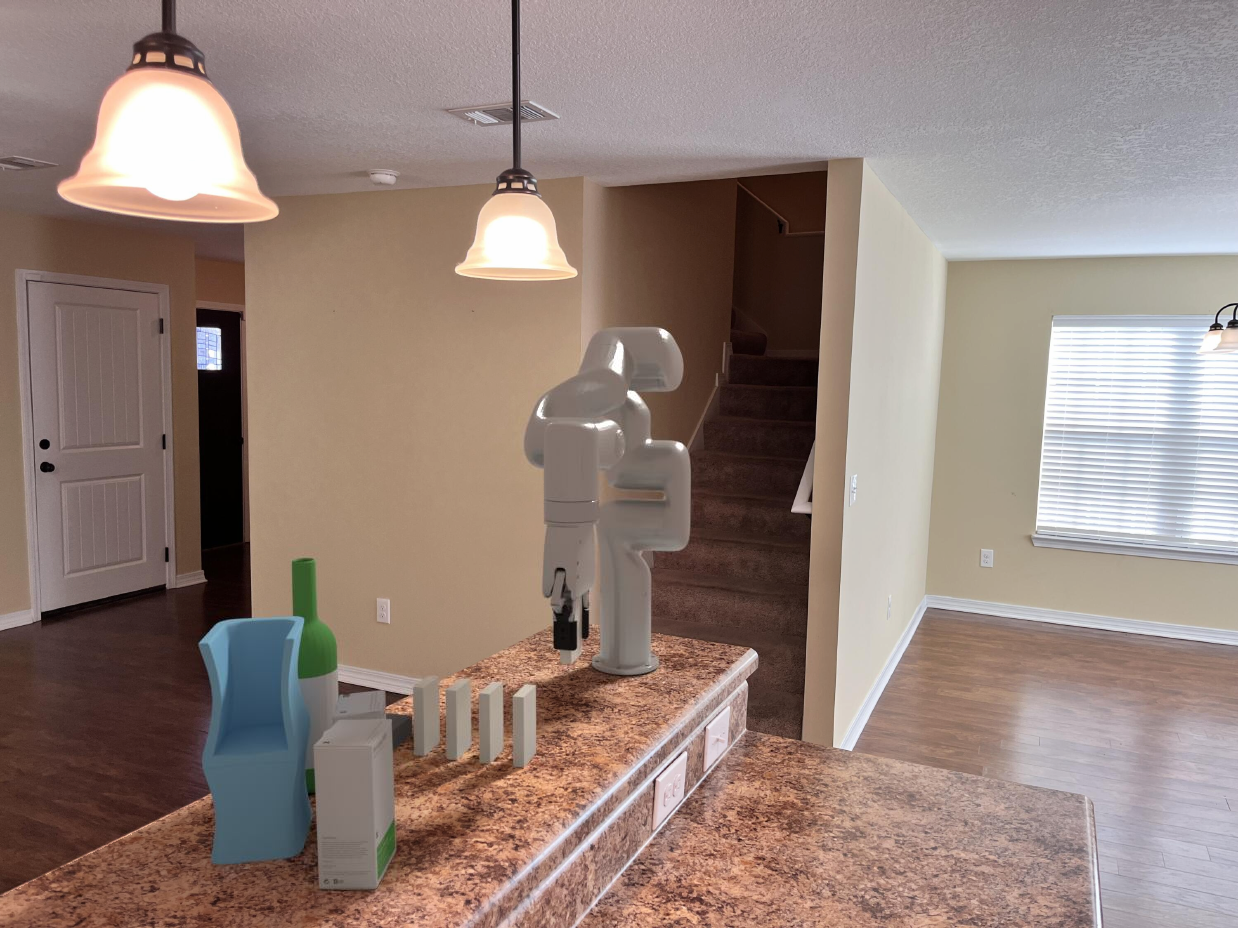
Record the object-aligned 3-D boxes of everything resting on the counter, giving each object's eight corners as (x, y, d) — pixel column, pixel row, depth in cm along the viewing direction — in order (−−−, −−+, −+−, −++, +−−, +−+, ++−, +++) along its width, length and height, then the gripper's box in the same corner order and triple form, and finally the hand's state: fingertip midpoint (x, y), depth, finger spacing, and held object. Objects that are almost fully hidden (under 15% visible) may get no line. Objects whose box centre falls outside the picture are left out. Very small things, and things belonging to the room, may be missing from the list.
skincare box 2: (376, 891, 91) (372, 747, 90) (313, 890, 91) (308, 746, 90) (398, 849, 100) (395, 716, 98) (340, 848, 100) (336, 715, 98)
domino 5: (560, 663, 118) (560, 590, 117) (571, 652, 123) (571, 582, 122) (571, 663, 118) (571, 591, 117) (581, 653, 123) (582, 582, 122)
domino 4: (513, 766, 121) (512, 696, 120) (525, 751, 126) (525, 684, 125) (524, 767, 121) (523, 697, 120) (536, 752, 126) (535, 685, 125)
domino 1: (414, 754, 125) (412, 686, 124) (430, 741, 130) (428, 675, 129) (424, 756, 124) (423, 687, 124) (439, 742, 129) (438, 676, 128)
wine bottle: (337, 793, 113) (331, 564, 110) (273, 799, 111) (265, 567, 109) (343, 767, 121) (338, 553, 118) (284, 772, 119) (277, 555, 116)
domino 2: (446, 758, 124) (445, 689, 123) (461, 744, 128) (460, 678, 128) (457, 759, 123) (456, 690, 122) (471, 745, 128) (470, 679, 127)
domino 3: (479, 762, 122) (478, 692, 122) (493, 748, 127) (492, 681, 126) (490, 763, 122) (489, 693, 121) (503, 749, 127) (502, 682, 126)
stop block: (388, 732, 133) (388, 712, 133) (412, 734, 132) (412, 715, 132) (360, 753, 125) (360, 733, 125) (386, 756, 124) (385, 735, 124)
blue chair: (206, 866, 96) (197, 643, 94) (227, 822, 105) (219, 619, 103) (301, 856, 98) (294, 638, 96) (313, 814, 108) (307, 615, 105)
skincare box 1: (388, 834, 103) (385, 711, 102) (334, 839, 102) (331, 715, 100) (390, 801, 111) (388, 687, 110) (340, 806, 110) (337, 690, 108)
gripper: (564, 503, 128) (564, 625, 129) (523, 520, 111) (524, 659, 113) (613, 505, 126) (613, 628, 128) (580, 522, 110) (580, 664, 111)
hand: (571, 641), depth 120 cm, fingers closed on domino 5, 4 cm apart
